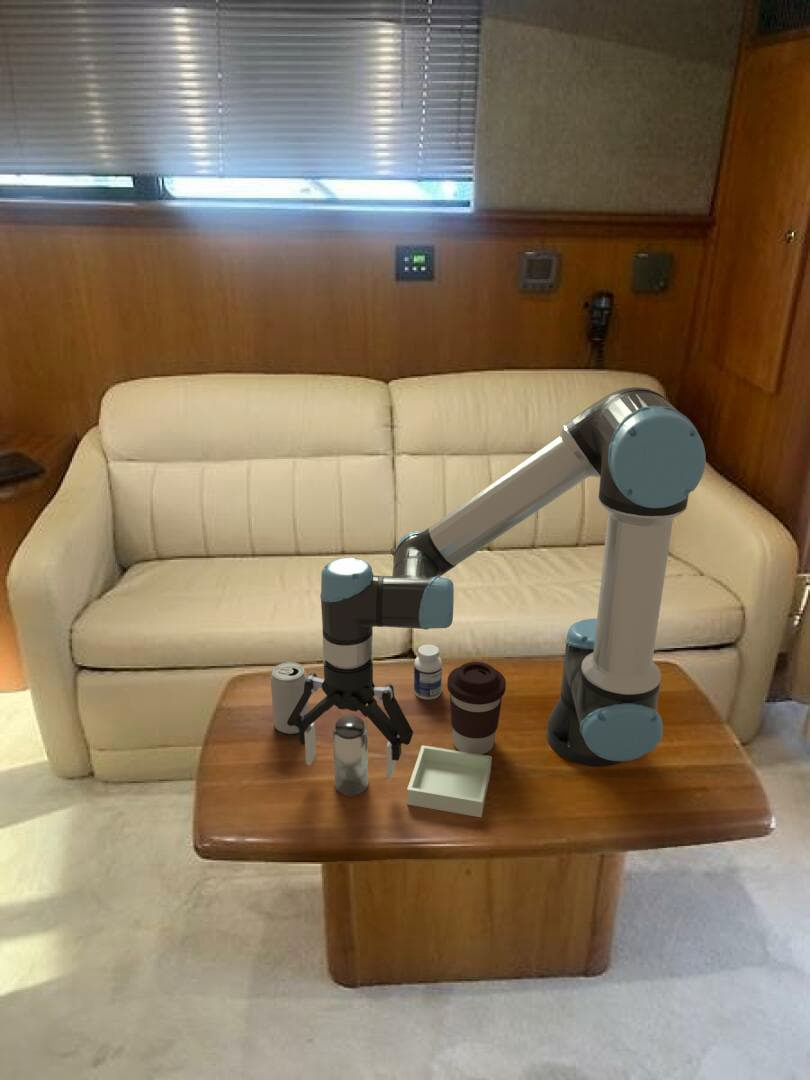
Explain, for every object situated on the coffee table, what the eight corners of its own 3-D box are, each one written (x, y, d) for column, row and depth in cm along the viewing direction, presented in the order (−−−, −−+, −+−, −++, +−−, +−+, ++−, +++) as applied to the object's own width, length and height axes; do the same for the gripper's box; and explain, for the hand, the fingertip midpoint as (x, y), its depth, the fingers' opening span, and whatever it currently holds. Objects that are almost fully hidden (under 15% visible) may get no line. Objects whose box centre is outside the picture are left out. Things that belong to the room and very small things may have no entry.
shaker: (372, 775, 132) (371, 716, 127) (362, 797, 127) (361, 738, 122) (340, 769, 133) (338, 711, 128) (330, 792, 128) (328, 732, 123)
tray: (490, 770, 133) (491, 756, 132) (481, 817, 123) (482, 802, 122) (421, 759, 135) (421, 745, 134) (407, 804, 126) (407, 789, 124)
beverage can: (303, 738, 140) (299, 682, 135) (269, 734, 141) (264, 678, 136) (314, 717, 146) (311, 662, 141) (281, 712, 147) (277, 658, 142)
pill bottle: (415, 683, 156) (416, 641, 152) (442, 685, 155) (444, 643, 151) (412, 699, 151) (412, 656, 147) (440, 701, 151) (441, 658, 146)
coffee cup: (451, 764, 134) (454, 691, 128) (440, 728, 143) (442, 658, 137) (507, 758, 136) (513, 686, 130) (493, 723, 145) (498, 654, 138)
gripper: (433, 654, 120) (429, 763, 129) (280, 633, 125) (286, 739, 134) (423, 681, 114) (420, 795, 123) (261, 658, 119) (270, 768, 128)
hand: (350, 766), depth 128 cm, fingers open, 13 cm apart
